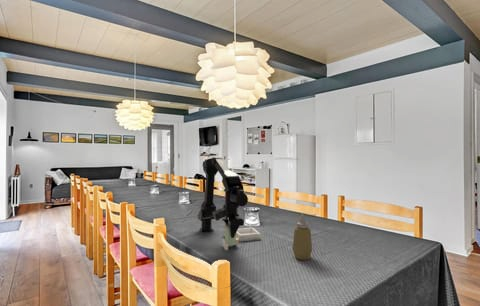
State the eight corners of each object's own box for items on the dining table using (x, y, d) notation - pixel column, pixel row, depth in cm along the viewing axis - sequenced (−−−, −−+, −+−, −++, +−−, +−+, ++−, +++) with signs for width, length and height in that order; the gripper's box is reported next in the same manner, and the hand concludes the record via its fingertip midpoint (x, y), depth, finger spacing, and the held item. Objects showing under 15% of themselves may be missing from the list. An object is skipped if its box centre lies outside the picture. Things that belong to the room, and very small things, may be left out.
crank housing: (218, 240, 135) (218, 234, 135) (236, 238, 138) (236, 232, 138) (225, 250, 121) (225, 243, 121) (246, 247, 125) (246, 241, 125)
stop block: (224, 242, 127) (225, 225, 126) (233, 241, 128) (233, 224, 128) (227, 245, 123) (227, 228, 123) (235, 244, 124) (236, 227, 124)
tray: (233, 235, 144) (233, 229, 143) (252, 233, 147) (252, 227, 147) (239, 241, 133) (239, 235, 133) (260, 239, 137) (260, 233, 137)
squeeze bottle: (297, 262, 109) (298, 217, 109) (289, 254, 117) (289, 212, 117) (315, 260, 111) (316, 216, 111) (306, 253, 119) (306, 211, 119)
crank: (240, 244, 125) (240, 229, 125) (234, 244, 124) (234, 230, 124) (228, 230, 146) (228, 218, 146) (223, 231, 145) (223, 219, 145)
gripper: (209, 199, 131) (209, 232, 132) (219, 207, 114) (219, 245, 114) (231, 198, 135) (231, 230, 135) (244, 206, 117) (244, 242, 117)
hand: (231, 236), depth 125 cm, fingers closed on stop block, 4 cm apart
